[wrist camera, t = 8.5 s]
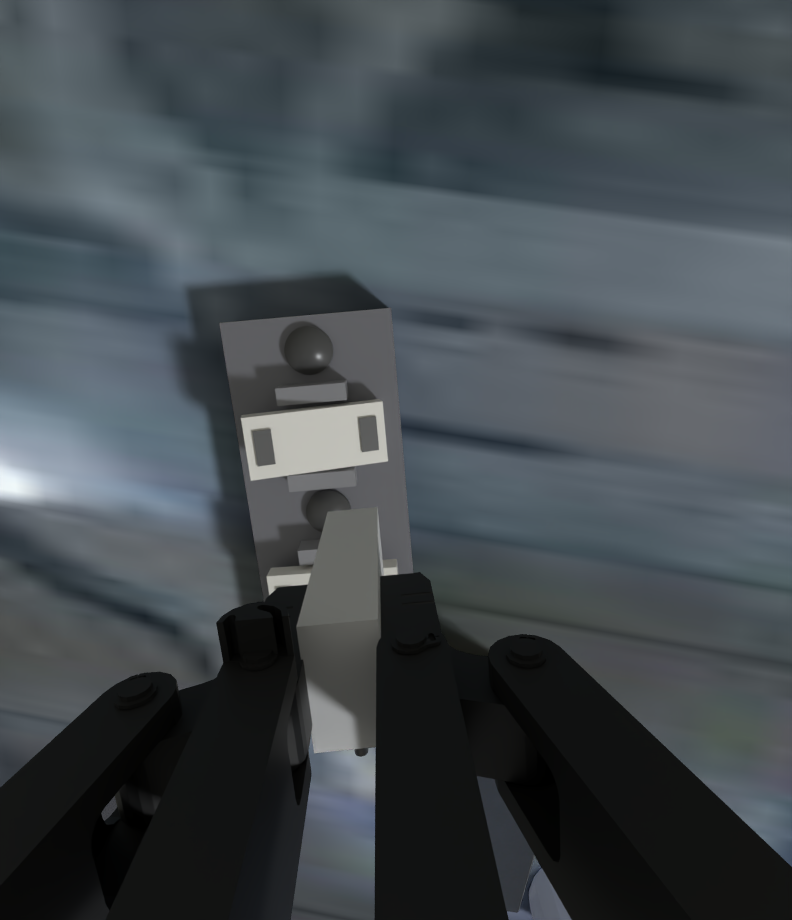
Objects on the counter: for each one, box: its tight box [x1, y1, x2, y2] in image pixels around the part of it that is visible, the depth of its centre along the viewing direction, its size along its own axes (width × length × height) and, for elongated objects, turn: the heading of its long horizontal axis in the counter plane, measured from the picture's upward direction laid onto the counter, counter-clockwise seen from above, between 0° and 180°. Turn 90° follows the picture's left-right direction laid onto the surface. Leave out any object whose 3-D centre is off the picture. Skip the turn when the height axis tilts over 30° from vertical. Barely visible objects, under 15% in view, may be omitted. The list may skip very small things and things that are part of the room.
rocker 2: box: [266, 559, 398, 595], centre depth 34 cm, size 8×4×1 cm, turn 95°
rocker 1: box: [241, 399, 388, 481], centre depth 32 cm, size 8×4×1 cm, turn 95°
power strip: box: [219, 308, 413, 757], centre depth 36 cm, size 10×32×5 cm, turn 5°
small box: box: [477, 776, 535, 912], centre depth 37 cm, size 11×6×10 cm, turn 171°
